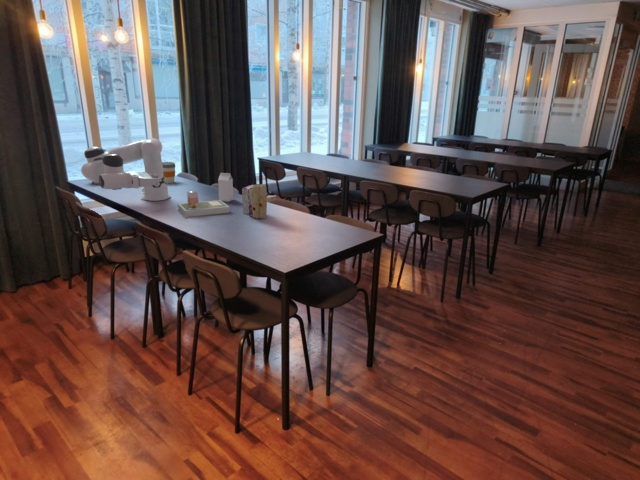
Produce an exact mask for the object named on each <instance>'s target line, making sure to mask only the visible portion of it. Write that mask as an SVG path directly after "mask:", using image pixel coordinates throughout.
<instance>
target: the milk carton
mask: <svg viewBox="0 0 640 480" xmlns="http://www.w3.org/2000/svg"><path fill="white" fill-rule="evenodd" d="M217 184H218V200H221V201H222V202H226V203H227V202H228V203H229V202H231V201H234V185H233V184H234V179H233V176H232V175H231V173H229V172H220V173H219V176H218V179H217Z"/></svg>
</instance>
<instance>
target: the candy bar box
mask: <svg viewBox="0 0 640 480" xmlns="http://www.w3.org/2000/svg"><path fill="white" fill-rule="evenodd" d="M254 185H255V184H251V185H248V186H245V187H243V188H241V195H242V196H241V199H242V201H241V202H242V214H246V215H250V214H251V215H252V214H253V211H252V187H253V186H254Z"/></svg>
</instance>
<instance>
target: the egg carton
mask: <svg viewBox="0 0 640 480" xmlns="http://www.w3.org/2000/svg"><path fill="white" fill-rule="evenodd" d="M212 201H213V202H208V208H217V207H223V205H222V204H221V203H219V202H218V201H216V200H212Z"/></svg>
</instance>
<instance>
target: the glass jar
mask: <svg viewBox="0 0 640 480" xmlns="http://www.w3.org/2000/svg"><path fill="white" fill-rule="evenodd" d="M186 193H187V196H186V197H187V203H188V210H196V209H199V202H200V201H199V191H198V190H190V191H189V190H188V191H187V192H186Z"/></svg>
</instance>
